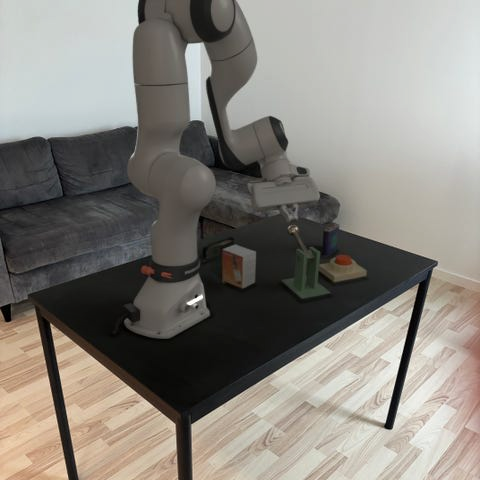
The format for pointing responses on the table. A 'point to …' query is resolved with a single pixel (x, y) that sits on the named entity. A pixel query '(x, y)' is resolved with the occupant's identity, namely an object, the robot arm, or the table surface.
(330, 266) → the button housing
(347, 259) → the button
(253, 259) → the small box
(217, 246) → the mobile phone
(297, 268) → the switch bracket
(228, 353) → the table surface
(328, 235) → the flask
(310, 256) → the lever
